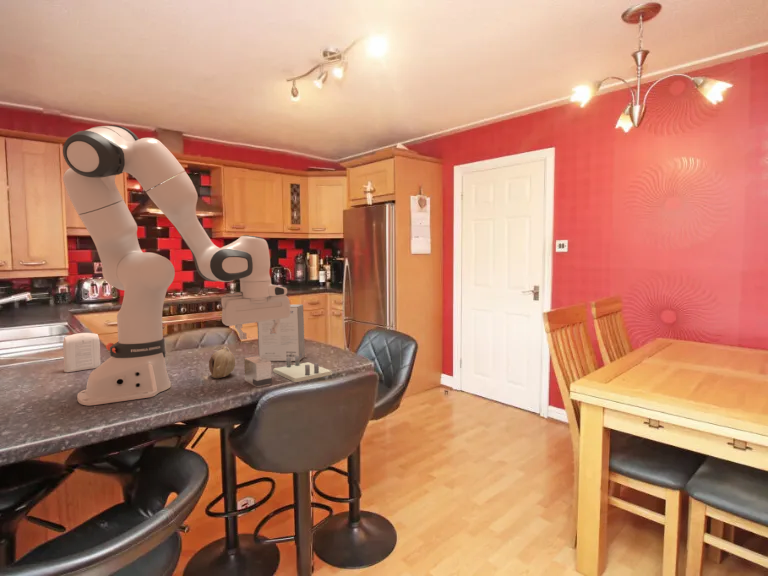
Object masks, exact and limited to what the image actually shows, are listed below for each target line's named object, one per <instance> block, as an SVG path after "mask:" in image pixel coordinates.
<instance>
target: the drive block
mask: <svg viewBox="0 0 768 576" xmlns="http://www.w3.org/2000/svg"><path fill="white" fill-rule="evenodd" d="M243 359H244V361H243V362H244V363H243V364H244V381H245V382H246V383H248V384H250V385H252V386H254V387H256V388H260V387H261V388H262V387H266V386H270V385H272V383H273V379H272V361H269V360H267V359H264V358H262V357H260V356H259V355H256V356H250V357H243Z"/></svg>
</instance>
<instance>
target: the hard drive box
mask: <svg viewBox="0 0 768 576" xmlns="http://www.w3.org/2000/svg"><path fill="white" fill-rule="evenodd" d="M290 309H291V314H290V316H289V318H284V319H280V323H279V325H278V327H277V334H274V335H272V334H270V328H272V327H273V325H274V322H273V320H269V321H262V322H256V323H257V343H258V344H257V349H258V356H260V357H262V358H264V359H267V360H269V361H271V362H287V361H286V358H289V357H290V358H291V362H295V356H299V362H300V361H301V360H303V359H304V358H305V357H306V355H305V353H306V352H305V348H306V347H305V320H304V319H305V318H304V304H290Z"/></svg>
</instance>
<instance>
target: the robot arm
mask: <svg viewBox="0 0 768 576" xmlns="http://www.w3.org/2000/svg"><path fill="white" fill-rule="evenodd" d="M62 154H63V158H64V161H65V163H66V164H67V166H68V167H69V168H68V169H67V170H66V171H65V172H64V173H63V177H62V180H63V181H62V182H63V184H64V187H65V189H66V192H67V195H68V198H69V200H70V201H71V204H72V206H73V208H74V209H75V212H76V213H77V215H78V217H79V218H80V220H81V222H82V223H83V225H84V227H85V229H86V230H87V233H88V234H89V236H90V237H91V239H92V241H93V243H94V245H95V248H96V251H97V254H98V257H99V260H100V263H101V266H102V269H101V271H102V272H101V273H102V277H103V279H104V280H105V282H106V283H108V285H111V287H114V288H116V289H117V290H120V291H124V292H123V299H122V302H121V303H122V304H121V305H120V306H121V307H120V308H119V310H118V312H117V314H116V320H117V342H115V343H112V342H108V343H107V344H106V345H105V348H106V350H107V351H109V355H110V357H109V358H107V359H106V360H105V361H104V362H102V363H101V365H100V366H99V367H97V368H94V369H93V370H92V371H91V372H90V373H89V375H88V378H87V382H86V389H83V390H81V391H79V392H78V393H77V395H76V396H77V398H76V399H77V402H78V403H79V404H80V405H82V406H83V405H84V406H97V405H103V404H111V403H118V402H124V401H133V400H139V399H145V398H153V397H155V396H156V395H158V394H159V393H161V392H163V391H167V390H168V389H169V388H171V386H172V383H171V381H170V378H169V375H168V372H167V366H166V359H165V358H166V350H167V349H166V341H165V338H164V335H163V334H164V333H163V331H164V330H163V308H164V303H165V299H166V294H167V291H168V289H169V288H170V286H171V284H172V283H173V282H174V280H175V275H176V272H175V271H176V270H175V267H174V265H173V263H172V261H170V260H169V259H168V258H167V257H165V256H162V255H160V254H159V253H156V252H147V251H146V252H145V251H144V252H143V250H142V249H141V246H140V244H139V243H140V242H139V240H138V224H137V221H136V220H135V219H134V217H133V215H132V213H131V211H130V210H129V207H128V205H127V204H126V202H125V200H124V198H123V196H122V194H121V193H120V191H119V189H118V187H117V184H116V176H119V175H121V174H123V173H126V174H129V175H131V176H132V177H133V178H134V179H136V181H137V182H138V183H139V184H140V186H141V188H143V191H144V192H145V194H147V196H148V197H149V199H150V200H151V201H152V202H153V203H154V205H156V207H157V208H158V209H159V210H160V211H161V213H163V215H164V216H165V217H166V218H167V219H168V220H169V222H170V223H171V224H172V225H173V226H174V228H175V229H176V231H177V232H178V234H179V236H180V237H181V239H182V240H183V241H184V243H185V245H186V246H187V248H188V249H189V251H190V252H191V254H192V256H193V259H194V260H193V261H194V265H195V268H196V272H197V273H198V275H199V276H200V277H201V278H202V279H203V280H205V281H208V282H222V283H230V282H233V281H236V280H239V285H240V287H239V289H240V291H239V292H238V291H236V292H228V293H225V294H224V295H223V296H222V297H221V299H220V304H221V308H222V309H221V322H222V324H223V325H225V326H227V327H232V326H233V327H234V328H235V330H236V331H237V333H238V334H239V339H240V340H241V341H243V340H247V337H248V335H247V334H248V333H247V332H243V330H242V328H243V325H246V324H247V325H248V324H254V323H257V322H262V321H269V320H273V322H274V325H273V327H272V328H270V334H272V335H274V334H277V327H278V325H279V323H280V319H284V318H289V316H290V314H291V309H290V305H291V302H290V298H289V296H287V294H288V288H287V287H283V286H279V285H277V284H273V283H272V278H271V275H270V269H271V256H270V249H269V244H268V242H267V240H266V239H265V238H263V237H260V236H255V235H249V234H248V235H247V234H245V235H240V237H238V239H236V240H234V241H232V242H231V243H228V244H227V245H224V246H222V247H219V246H217V245H216V244H214V242H213V241H212V240H211V238H210V236H209V235H208V233H207V232H206V230H205V229H204V227H203V226H202V224H201V222H200V221H199V218H198V216H197V204H198V203H197V202H198V198H199V197H198V192H197V189H196V187H195V184H194V183H193V181H192V179H191V178H190V176H189V175H188V173H187V171H186V170H185V168H184V167H183V166H182V164H181V163H180V162H179V161H178V159H177V158H176V157H175V155H174V154H173V153H172V152H171V151H170V150H169V148H167V147H166V146H165V144H163V142H161V141H160V140H159V139H157V138H154V137H142V138H139V137H138V136H137V134H135V133H134V132H133V131H132V130H131V129H129V128H126V127H124V126H121V125H116V124H113V125H112V124H111V125H101V126H94V127H91V128H89V129H85V130H79V131H77V132H75V133H73V134H71V135H70V136H69V137H67V139H66V140H65V142H64V144H63V146H62Z"/></svg>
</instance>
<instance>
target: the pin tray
mask: <svg viewBox="0 0 768 576" xmlns="http://www.w3.org/2000/svg"><path fill="white" fill-rule="evenodd" d="M285 362H286V366H280V367H275V368H273V370H272V372H273V373H274V374H275V375H276V374H277V375H278V376H281V377H283V378H285V379H287V380H289V381H291V382H293V383H299V382H305V381H308V380H313V379H318V378H319V379H320V378H322V377H324V378H325V377H326V376H327V377H328V376H332V375H333V371H332V370H330V369H327V368H325V367H323V366H319V365H320V364H319V362H314V363H311V362H309V361H307V362H303V363H300V361H299V356H295V361H294V362H295V363H294V364H292V361H291V358H290V357H289V358H286V361H285Z"/></svg>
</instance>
